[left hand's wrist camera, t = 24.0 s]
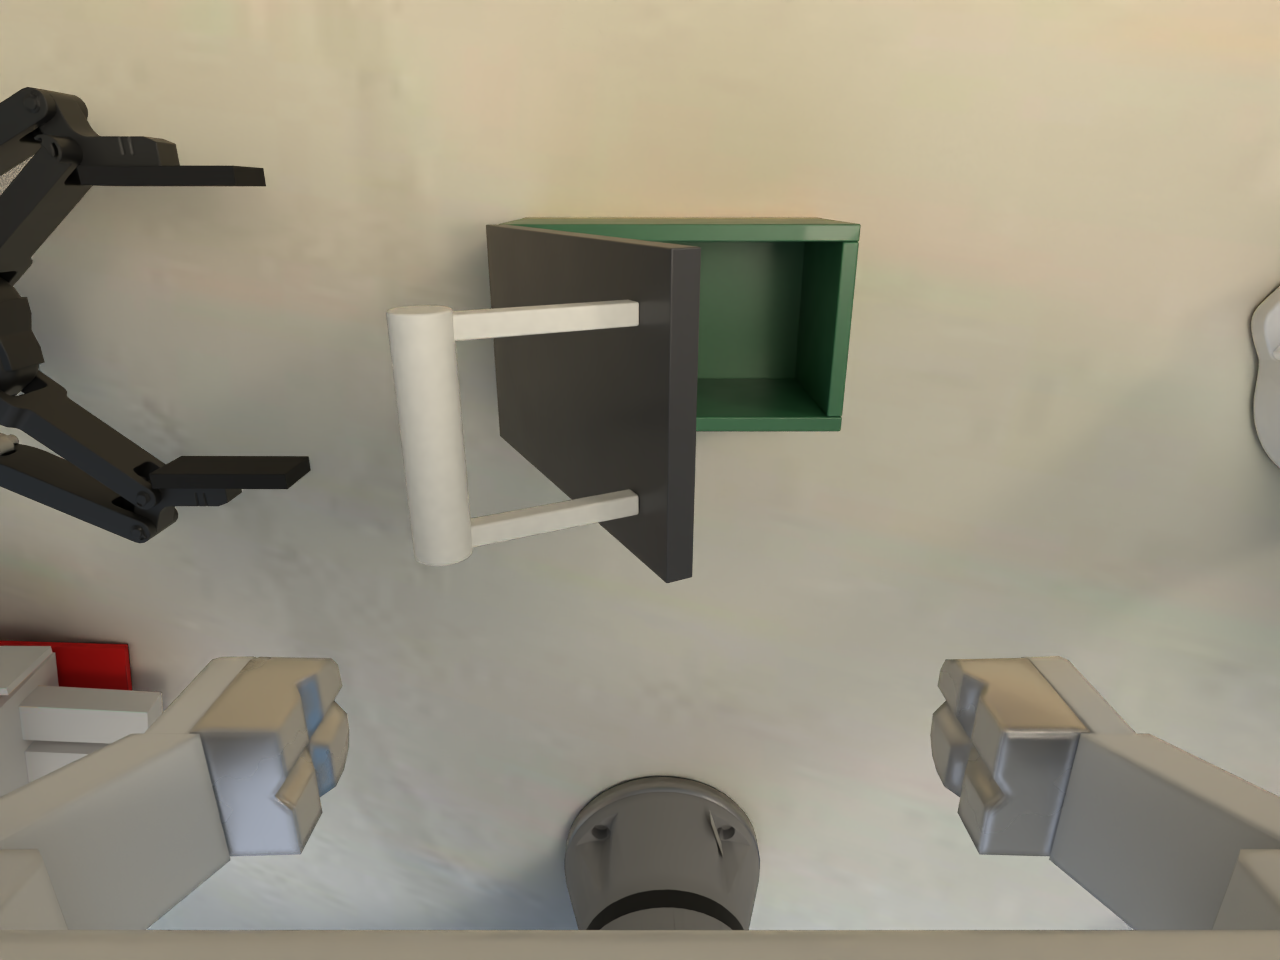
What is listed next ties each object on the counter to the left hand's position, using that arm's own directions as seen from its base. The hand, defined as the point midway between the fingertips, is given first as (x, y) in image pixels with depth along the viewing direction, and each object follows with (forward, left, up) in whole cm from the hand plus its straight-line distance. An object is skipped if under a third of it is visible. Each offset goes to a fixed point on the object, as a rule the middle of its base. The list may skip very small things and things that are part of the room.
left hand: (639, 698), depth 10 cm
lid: (+1, -2, -21) cm, 21 cm away
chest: (-1, +2, -38) cm, 38 cm away
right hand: (+7, -15, -27) cm, 32 cm away
